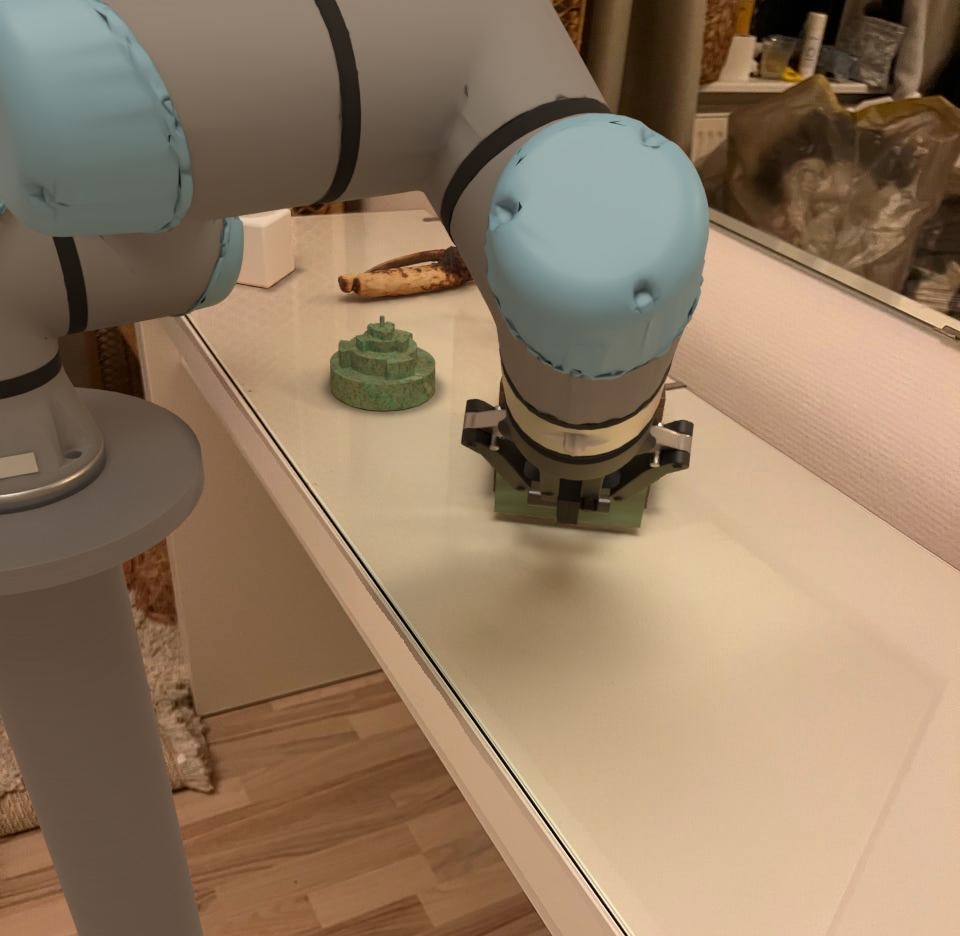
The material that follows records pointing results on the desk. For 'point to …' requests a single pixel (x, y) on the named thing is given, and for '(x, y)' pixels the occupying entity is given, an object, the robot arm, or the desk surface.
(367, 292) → the lashed bone hook
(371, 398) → the decorative artifact
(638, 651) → the desk surface
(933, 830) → the desk surface
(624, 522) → the drawer
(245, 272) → the medicine bottle
